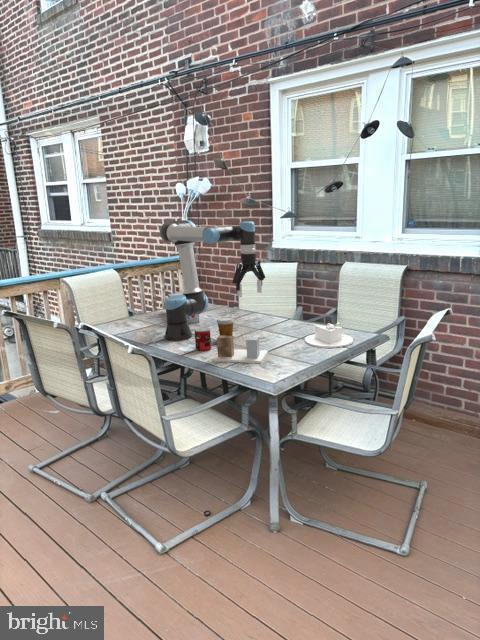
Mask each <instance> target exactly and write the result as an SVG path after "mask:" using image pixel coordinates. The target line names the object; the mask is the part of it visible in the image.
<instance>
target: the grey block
mask: <svg viewBox="0 0 480 640" xmlns="http://www.w3.org/2000/svg"><path fill="white" fill-rule="evenodd" d="M245 341H246V350H247V358H258V357H259V355H260V352H259V350H260V337H259V336H248V337H247V338H246V340H245Z"/></svg>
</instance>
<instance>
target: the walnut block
mask: <svg viewBox="0 0 480 640" xmlns="http://www.w3.org/2000/svg"><path fill="white" fill-rule="evenodd" d="M234 344H235V343H234V335H232V336H221V335H220V334H219V335H218V336H217V337H216V349H217V353H218V358H233V357H234V349H235V345H234Z"/></svg>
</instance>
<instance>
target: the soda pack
mask: <svg viewBox="0 0 480 640" xmlns="http://www.w3.org/2000/svg"><path fill="white" fill-rule="evenodd" d="M176 295H183V292H176V293H168V294H167V298H169V297H171V296H176ZM187 319H188V325H192V324H191V323H195V324H200V314H196V315H192V316H189V317H187Z"/></svg>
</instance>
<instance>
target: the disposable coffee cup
mask: <svg viewBox="0 0 480 640" xmlns="http://www.w3.org/2000/svg"><path fill="white" fill-rule="evenodd" d="M216 323H217V327H218V332H219V333H218V334H219V335H221V336H234V335H233V333H234V323H235V319H234V318H233V317H232V316H222V317H218V318H217V320H216Z"/></svg>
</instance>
